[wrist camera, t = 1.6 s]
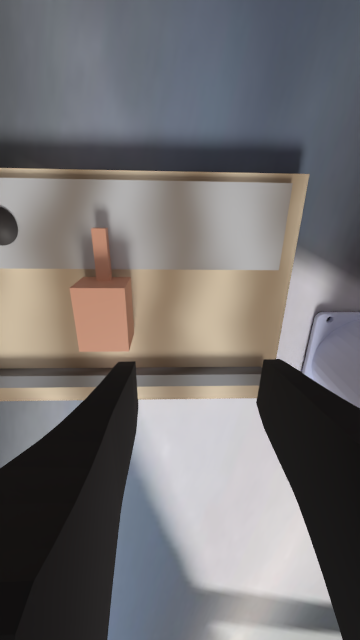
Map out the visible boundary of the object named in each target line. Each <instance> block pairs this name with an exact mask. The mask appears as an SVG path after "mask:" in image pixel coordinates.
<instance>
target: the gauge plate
mask: <svg viewBox="0 0 360 640" xmlns="http://www.w3.org/2000/svg"><path fill="white" fill-rule="evenodd" d="M308 179H309V174H281V173H230V172H179V171H129V170H78V169H27V168H0V401H46V400H85V399H86V398H87V397H88V396H89V394H90V393H91V392H92V391H93V390H94V389H95V388H96V387H97V386H98V385H99V384H100V382H101V381H102V380H103V379H104V378H105V377H106V376H107V374H108V373H109V372H110V371H111V370H112V368H113V367H114V366H115V365H116V364H117V363H118V362H130V361H136V377H137V393H138V399H221V398H257V396H258V390H259V384H260V378H261V372H262V365H263V359H276V356H277V350H278V344H279V339H280V333H281V328H282V322H283V317H284V311H285V306H286V300H287V295H288V289H289V284H290V278H291V273H292V267H293V262H294V256H295V251H296V245H297V240H298V234H299V228H300V223H301V217H302V212H303V206H304V201H305V195H306V190H307V184H308ZM91 228H108V237H109V249H110V260H111V271H112V277H131V289H132V306H133V322H134V336H133V339H132V343H131V346H130V350H129V351H121V352H79V346H78V340H77V333H76V327H75V320H74V314H73V307H72V301H71V295H70V287H71V286H73V285H74V284H75V283H76V282H77V281H79V280H80V279H81V278H82V277H96V270H95V261H94V252H93V243H92V235H91Z"/></svg>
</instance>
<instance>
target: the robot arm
mask: <svg viewBox="0 0 360 640" xmlns="http://www.w3.org/2000/svg"><path fill="white" fill-rule="evenodd" d="M328 317H330V320H328V321H326V320H327V318H328ZM256 403H257V407H258V410H259V414H260V417H261V420H262V423H263V426H264V429H265V431H266V433H267V436H268V438H269V440H270V442H271V444H272V447H273V449H274V451H275V453H276V455H277V457H278V460H279V462H280V464H281V466H282V468H283V470H284V472H285V475H286V477H287V479H288V481H289V483H290V485H291V488H292V490H293V492H294V495H295V497H296V499H297V502H298V504H299V507H300V510H301V513H302V516H303V518H304V521H305V524H306V527H307V530H308V532H309V535H310V538H311V541H312V544H313V547H314V550H315V553H316V556H317V559H318V562H319V565H320V568H321V571H322V574H323V577H324V580H325V583H326V587H327V590H328V593H329V596H330V599H331V603H332V606H333V609H334V612H335V615H336V619H337V622H338V625H339V628H340V632H341V635H342V639H343V640H360V312H320V313H318V314H317V315H316V316H315V318H314V322H313V327H312V331H311V335H310V340H309V344H308V348H307V353H306V357H305V361H304V366H303V370H302V372H300V371H298V370H297V369H295V368H294V367H292V366H291V365H289V364H287V363H286V362H284V361H282V360H280V359H263V365H262V372H261V378H260V384H259V390H258V396H257V402H256ZM137 415H138V393H137V377H136V361H130V362H118V363H117V364H116V365H115V366H114V367H113V368H112V370H111V371H110V372H109V373H108V374H107V376H106V377H105V378H104V379H103V380H102V381H101V382H100V384H99V385H98V386H97V387H96V388H95V389H94V390H93V391H92V392H91V393H90V394H89V396H88V397H87V398H86V399H85V400H84V401H83V402H82V403H81V404H80V405H79V406H78V407H77V408H76V409H75V410H74V411H73V412H71V413H70V414H69V415H68V416H67V417H66V418H65V419H64V420H63V421H62V422H61V423H60V424H58V425H57V426H56V427H55V428H54V429H53V430H51V431H50V432H49V433H48V434H47V435H45V436H44V437H43V438H42V439H40V440H39V441H38V442H36V443H35V444H34V445H32V446H31V447H30V448H28V449H27V450H25V451H24V452H23V453H21V454H20V455H19V456H17V457H16V458H14V459H13V460H12V461H10V462H9V463H7V464H6V465H5V466H3V467H2V468H0V640H107V636H108V626H109V616H110V605H111V595H112V585H113V576H114V567H115V557H116V548H117V539H118V530H119V522H120V513H121V506H122V500H123V494H124V489H125V484H126V479H127V475H128V470H129V465H130V460H131V455H132V450H133V445H134V440H135V435H136V427H137Z"/></svg>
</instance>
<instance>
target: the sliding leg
mask: <svg viewBox="0 0 360 640" xmlns="http://www.w3.org/2000/svg"><path fill="white" fill-rule="evenodd" d="M91 235H92V243H93V252H94V261H95V270H96V277H82V278H81V279H80V280H79V281H77V282H76V283H75V284H74V285H73V286H71V287H70V295H71V301H72V307H73V314H74V320H75V327H76V333H77V340H78V346H79V352H121V351H129V350H130V346H131V343H132V339H133V336H134V322H133V306H132V289H131V277H112V271H111V260H110V249H109V237H108V228H91Z"/></svg>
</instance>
